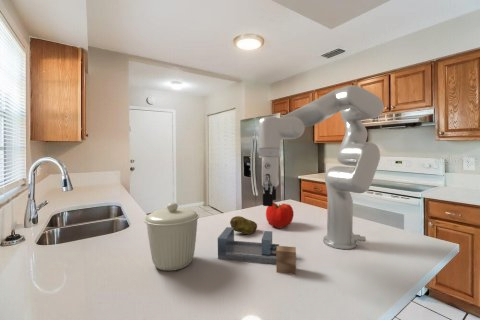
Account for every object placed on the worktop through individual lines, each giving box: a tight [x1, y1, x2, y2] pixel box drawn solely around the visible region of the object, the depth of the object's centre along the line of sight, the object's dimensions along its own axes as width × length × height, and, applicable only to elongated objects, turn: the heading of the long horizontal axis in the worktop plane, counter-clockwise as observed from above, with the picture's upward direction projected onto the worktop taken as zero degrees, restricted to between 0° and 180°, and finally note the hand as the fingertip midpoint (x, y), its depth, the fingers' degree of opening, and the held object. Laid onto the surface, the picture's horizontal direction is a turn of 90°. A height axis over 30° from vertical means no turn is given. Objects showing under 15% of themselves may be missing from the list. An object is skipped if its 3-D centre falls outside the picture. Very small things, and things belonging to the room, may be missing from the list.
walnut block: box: [275, 245, 297, 275], centre depth 75 cm, size 6×4×7 cm, turn 77°
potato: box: [229, 215, 258, 235], centre depth 108 cm, size 8×13×8 cm, turn 94°
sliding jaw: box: [261, 230, 277, 256], centre depth 84 cm, size 10×9×6 cm
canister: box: [143, 202, 200, 272], centre depth 79 cm, size 18×18×21 cm
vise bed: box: [217, 226, 280, 265], centre depth 86 cm, size 21×12×8 cm, turn 78°
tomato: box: [265, 202, 295, 229], centre depth 117 cm, size 13×14×12 cm
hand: (269, 202), depth 81 cm, fingers open, 9 cm apart
